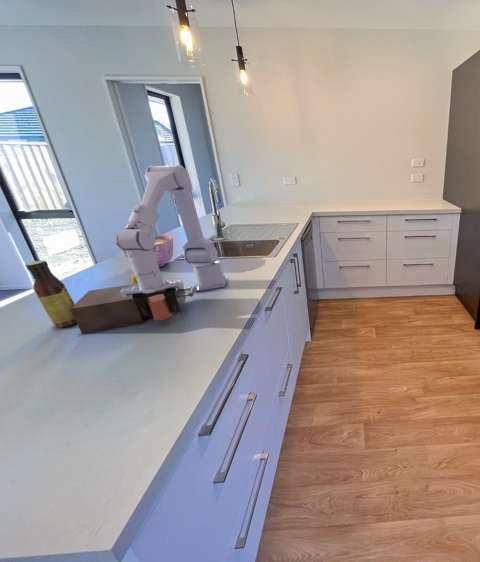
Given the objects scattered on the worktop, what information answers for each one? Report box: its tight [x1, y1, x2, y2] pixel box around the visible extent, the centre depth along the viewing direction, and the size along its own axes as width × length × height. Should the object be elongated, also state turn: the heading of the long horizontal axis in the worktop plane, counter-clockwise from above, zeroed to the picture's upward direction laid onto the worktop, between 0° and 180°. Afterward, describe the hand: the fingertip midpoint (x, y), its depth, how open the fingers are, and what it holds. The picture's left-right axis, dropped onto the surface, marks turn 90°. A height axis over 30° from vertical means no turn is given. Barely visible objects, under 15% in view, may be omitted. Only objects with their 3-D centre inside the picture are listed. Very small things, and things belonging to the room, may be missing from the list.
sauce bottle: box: [25, 259, 77, 329], centre depth 87 cm, size 6×6×20 cm
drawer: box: [138, 285, 197, 317], centre depth 97 cm, size 18×12×6 cm, turn 113°
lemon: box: [130, 273, 138, 284], centre depth 110 cm, size 6×6×8 cm
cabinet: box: [70, 283, 147, 335], centre depth 92 cm, size 15×13×8 cm
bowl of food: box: [117, 234, 174, 268], centre depth 133 cm, size 20×20×12 cm
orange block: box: [147, 294, 174, 321], centre depth 88 cm, size 5×5×6 cm
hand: (162, 313), depth 89 cm, fingers closed on orange block, 5 cm apart
